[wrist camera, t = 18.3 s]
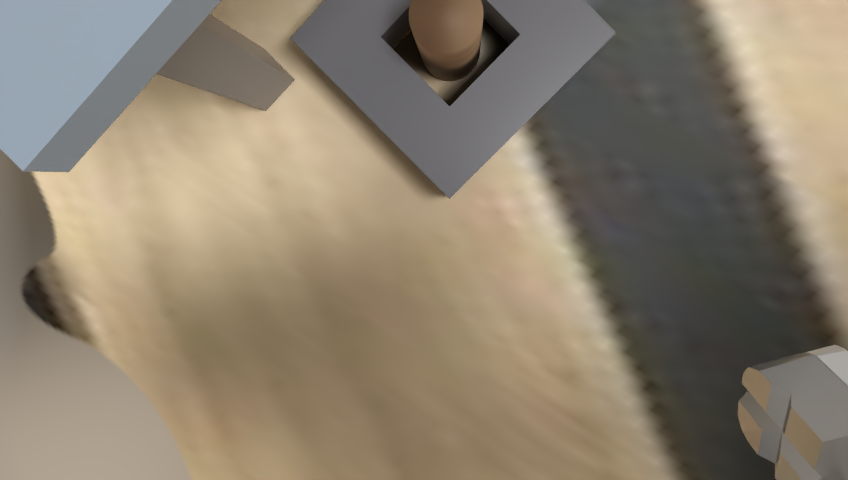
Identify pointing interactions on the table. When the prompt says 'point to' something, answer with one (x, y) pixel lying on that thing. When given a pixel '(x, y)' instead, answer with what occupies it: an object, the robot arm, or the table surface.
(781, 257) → the table surface
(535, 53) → the socket station
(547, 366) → the table surface
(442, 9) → the peg
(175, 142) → the table surface
